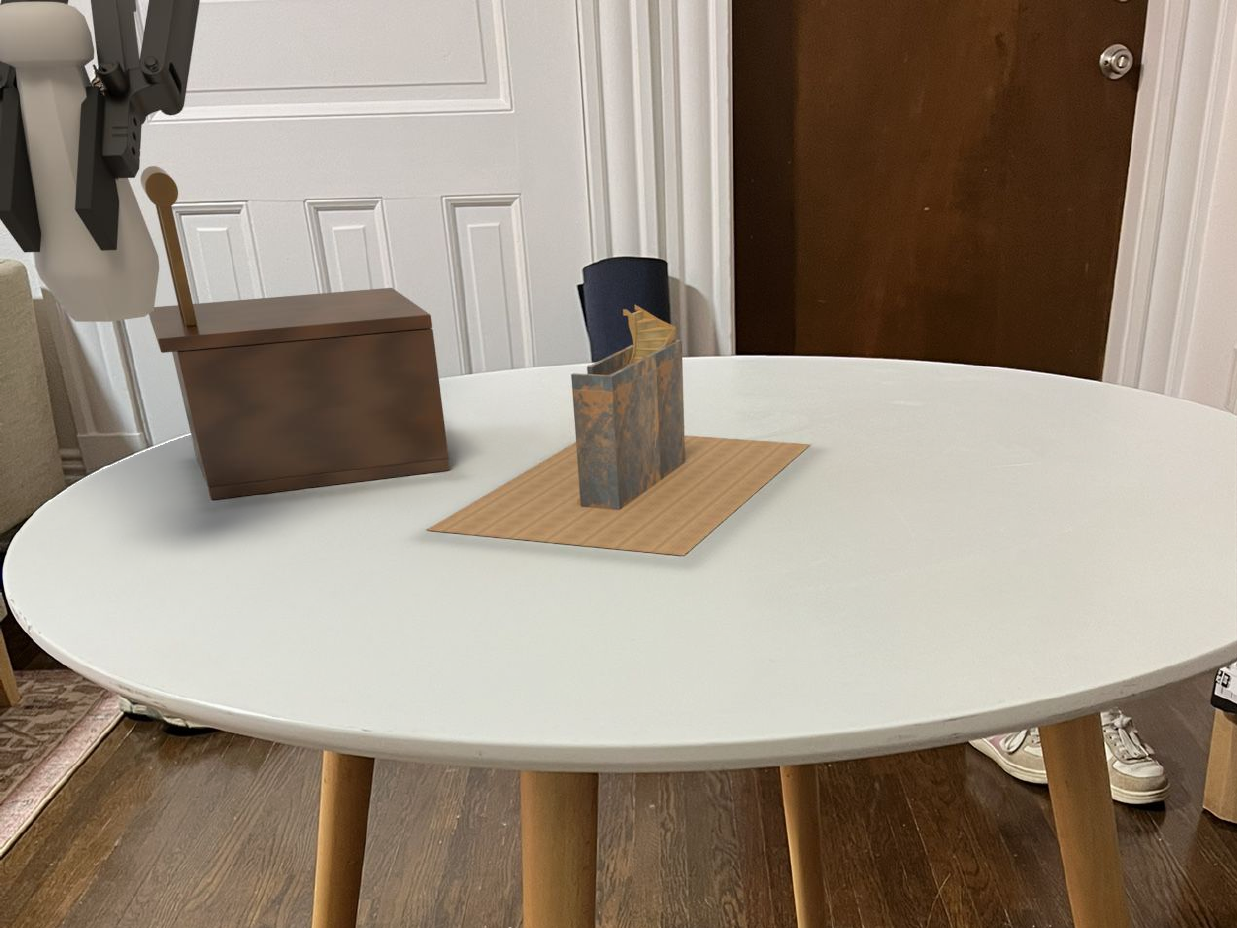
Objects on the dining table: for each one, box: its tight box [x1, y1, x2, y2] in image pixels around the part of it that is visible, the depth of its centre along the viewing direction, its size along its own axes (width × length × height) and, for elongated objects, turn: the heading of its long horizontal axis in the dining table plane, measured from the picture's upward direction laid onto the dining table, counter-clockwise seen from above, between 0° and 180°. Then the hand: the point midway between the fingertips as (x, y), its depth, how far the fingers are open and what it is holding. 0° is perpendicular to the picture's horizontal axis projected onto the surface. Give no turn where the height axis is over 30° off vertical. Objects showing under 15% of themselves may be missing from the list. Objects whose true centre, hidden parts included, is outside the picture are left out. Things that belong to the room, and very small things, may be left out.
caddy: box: [171, 328, 451, 501], centre depth 88 cm, size 16×13×9 cm
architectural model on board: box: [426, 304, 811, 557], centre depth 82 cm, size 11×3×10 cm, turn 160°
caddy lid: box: [140, 165, 433, 354], centre depth 83 cm, size 16×13×9 cm
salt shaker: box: [0, 2, 160, 323], centre depth 63 cm, size 6×6×13 cm
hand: (56, 230), depth 61 cm, fingers closed on salt shaker, 3 cm apart
